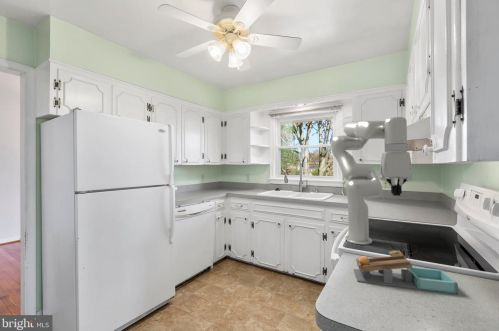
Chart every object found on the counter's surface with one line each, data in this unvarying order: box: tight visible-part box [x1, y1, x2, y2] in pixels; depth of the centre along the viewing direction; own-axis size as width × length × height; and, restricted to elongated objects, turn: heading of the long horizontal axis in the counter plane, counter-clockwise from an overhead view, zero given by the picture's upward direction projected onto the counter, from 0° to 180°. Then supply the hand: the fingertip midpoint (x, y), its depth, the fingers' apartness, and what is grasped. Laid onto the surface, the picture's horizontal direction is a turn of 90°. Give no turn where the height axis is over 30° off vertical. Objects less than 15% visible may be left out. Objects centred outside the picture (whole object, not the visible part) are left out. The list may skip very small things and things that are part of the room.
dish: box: [406, 266, 459, 295], centre depth 76 cm, size 9×10×3 cm
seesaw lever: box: [355, 250, 413, 272], centre depth 83 cm, size 13×16×3 cm
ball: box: [358, 255, 369, 265], centre depth 82 cm, size 3×3×3 cm
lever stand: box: [353, 268, 418, 290], centre depth 80 cm, size 9×17×5 cm, turn 73°
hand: (396, 195), depth 92 cm, fingers closed
